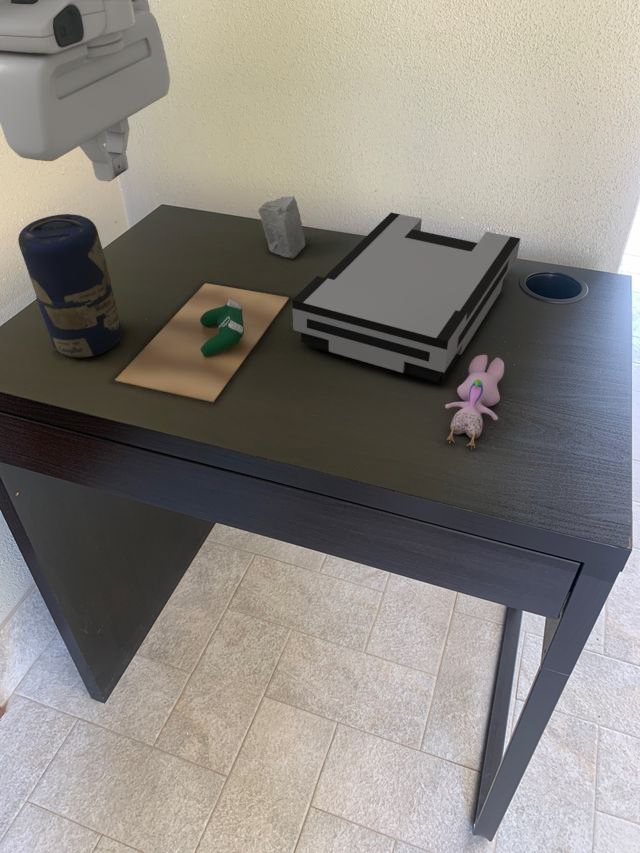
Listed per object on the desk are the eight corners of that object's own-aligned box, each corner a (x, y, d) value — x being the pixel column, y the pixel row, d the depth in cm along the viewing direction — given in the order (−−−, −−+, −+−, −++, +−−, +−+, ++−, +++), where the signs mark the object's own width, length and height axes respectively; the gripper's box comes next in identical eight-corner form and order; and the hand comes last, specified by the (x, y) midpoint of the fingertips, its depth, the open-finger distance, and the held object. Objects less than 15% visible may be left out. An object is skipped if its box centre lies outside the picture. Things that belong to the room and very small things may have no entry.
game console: (512, 280, 106) (522, 230, 100) (440, 396, 85) (448, 341, 79) (388, 252, 113) (391, 204, 108) (294, 353, 92) (292, 299, 87)
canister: (115, 363, 91) (81, 236, 79) (44, 363, 91) (0, 237, 79) (131, 323, 98) (102, 202, 86) (65, 324, 98) (28, 203, 86)
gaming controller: (220, 369, 92) (249, 340, 90) (197, 354, 90) (227, 324, 88) (218, 331, 99) (245, 304, 97) (197, 317, 97) (225, 288, 95)
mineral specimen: (310, 232, 118) (308, 192, 111) (298, 265, 113) (295, 225, 106) (269, 227, 119) (264, 187, 112) (255, 260, 114) (250, 219, 107)
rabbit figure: (486, 461, 78) (514, 371, 86) (492, 427, 73) (521, 336, 82) (432, 446, 80) (466, 360, 88) (435, 413, 75) (470, 326, 84)
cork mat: (213, 402, 84) (213, 401, 84) (115, 381, 88) (114, 379, 88) (289, 298, 103) (289, 297, 102) (205, 284, 106) (205, 283, 106)
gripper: (112, -21, 63) (140, 135, 72) (-46, 27, 48) (15, 215, 57) (173, -18, 61) (194, 141, 70) (29, 32, 46) (79, 225, 56)
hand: (112, 175), depth 64 cm, fingers closed
